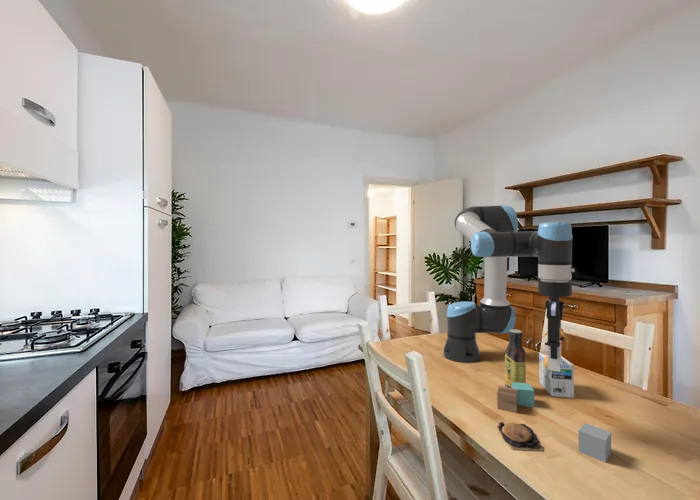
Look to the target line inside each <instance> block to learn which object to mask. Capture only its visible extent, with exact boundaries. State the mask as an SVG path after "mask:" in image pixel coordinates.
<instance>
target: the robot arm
mask: <svg viewBox="0 0 700 500" xmlns="http://www.w3.org/2000/svg"><path fill="white" fill-rule="evenodd" d="M518 227H519V221H518V215H517V213H516V210H515V209H514V208H513V207H512V206H509V205H483V206H482V205H480V206H479V205H476V206H470V207H467V208H465V209H463V210H461V211H460V212H459V213H457V214H456V217H455V219H454V228H455V230H456V231H457V232H458V233H459V234H460V235H462V236H465V237H467V239H469V240H470V249H471V252H472V255H473V256H474V257H480V258H481V257H483V258H484V275H483V276H484V278H483V279H484V280H483V281H484V282H483V285H484V287H483V288H484V289H483V290H484V291H483V293H484V295H483V298H481V299H480V300H479V301H480V302H479V305H477V304H476V302H475V301H466V300H465V301H457V302H453V303H450V304H449V305H448V306H447V312H446V320H447V321H446V322H447V324H446V325H447V326H446V327H447V331H446V333H447V334H446V335H447V338H446V340H445V343H444V346H443V349H442V350H443V352H442V353H443V356H444V357H445V358H446V359H447V360H451V361H452V362H453V361H454V362H458V363H459V362H460V363H475V362H478V361H480V360H481V352H480V349H479V345H478V343H477V340H476V339H477V338H476V336H477V334H498V335H500V334H509V330H511V329H514V328H515V324H516V314H515V313H516V312H515V308H514V307H513V306H512V305H511V302H510V301H509V300H508V299H507V281H508V280H507V279H508V275H507V274H508V273H507V272H508V257H513V258H514V257H515V258H516V257H517V258H519V257H528V258H529V257H536V258H538V262H537V263H538V264H537V270H538V271H537V277H538V279H540V280H539V281H538V282H537V283H538V286H537V288H538V289H537V292H538V294H539V295H541V296H547V297H548V300H546V301H545V309H546V314H545V315H546V319H547V331H548V334H547V341H546V342H544V345H545V346H547V353H548V370H553V371H558V372H560V365H561V356H562V341H564V340H565V337H564V336H561V338H560V328H562V320H563V313H564V311H563V310H564V307H565V306H564V305H565V303H564V301H562V300H561V298H567V297H568V298H569V297H571V296H572V295H573V292H572V291H573V283H572V282H571V281H570V280H572V279H573V278H572V277H573V276H572V275H573V274H572V273H575V272H576V271H575V270H576V269H575V268H572V264H573V262H572V261H573V237H574V236H573V233H572V232H573V230H572V229H573V228H572V224H571V223H569V222H566V221H562V222H561V221H560V222H559V221H557V222H556V221H553V222H542V223H540V224H539V225H538V229H537V230H534V231H532V230H531V231H530V230H529V231H528V230H527V231H518ZM560 342H561V344H560Z"/></svg>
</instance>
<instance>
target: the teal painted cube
mask: <svg viewBox="0 0 700 500" xmlns="http://www.w3.org/2000/svg"><path fill="white" fill-rule="evenodd" d="M512 388H513V389H517V405H518V406H521V407H531V408H534V407H535V389H534V388H533V386H531V384H530V383H527V382H526V383H517V382H512Z"/></svg>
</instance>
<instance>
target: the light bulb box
mask: <svg viewBox="0 0 700 500" xmlns="http://www.w3.org/2000/svg"><path fill="white" fill-rule="evenodd" d="M546 356H548V352H538V358H539V359H538V364H539V365H538V367H539V368H538V369H539V371H538V372H539V374H538V375H539V376H538V377H539V379H538V380H539V382H538V383H539V384H540V385H541V386H542V387H543V388H544V389H545V391H546V392H547V393H549V395H550V396H551V397H557V398H571V399H574V398H575V364H573V363H572V362H571V361H569V360H567V359H566V358H565V357H563V356H562V355H561V365H560V372H558V371H550V370H548V369H546V368H545V366H544V365H543V359H544V358H545V357H546Z"/></svg>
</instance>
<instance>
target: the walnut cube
mask: <svg viewBox="0 0 700 500" xmlns="http://www.w3.org/2000/svg"><path fill="white" fill-rule="evenodd" d="M496 396H497V397H496V398H497V407H496V408H497V410H500V411H505V412H510V413H514V414H517V413H518V406H519V405H517V389H513V388H508V387H505V386H503V385H499V386H498V388H497V394H496Z"/></svg>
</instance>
